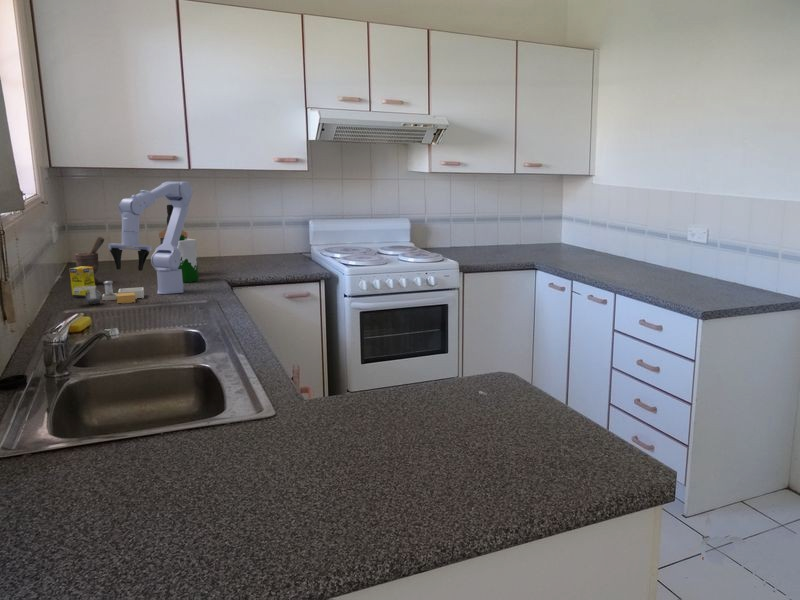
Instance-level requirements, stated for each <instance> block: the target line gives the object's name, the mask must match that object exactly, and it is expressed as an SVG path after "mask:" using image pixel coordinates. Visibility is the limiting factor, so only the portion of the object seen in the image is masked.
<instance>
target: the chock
mask: <svg viewBox="0 0 800 600" xmlns="http://www.w3.org/2000/svg"><path fill="white" fill-rule="evenodd" d="M132 302H134V303H136V299H135V293H121V294H118V293H117V299H116V303H117V305H119V304H118V303H122V304H133V303H132Z"/></svg>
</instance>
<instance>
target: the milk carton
mask: <svg viewBox="0 0 800 600" xmlns="http://www.w3.org/2000/svg"><path fill="white" fill-rule="evenodd" d="M197 242H198V239H194V238H187V239H184V235H181V236H180V239H179V242H178V246H177V248H178V250H179V251H180V252H181V256H180V265H179V267H178V269H182V280H183V283H184V284H186V283H185V282H189V283H193V282H192V281H196V282H199V281H200V280H199V279H200V278H199V268H198V266H199V265H198V254H197V253H198V252H197V244H198V243H197Z"/></svg>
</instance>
